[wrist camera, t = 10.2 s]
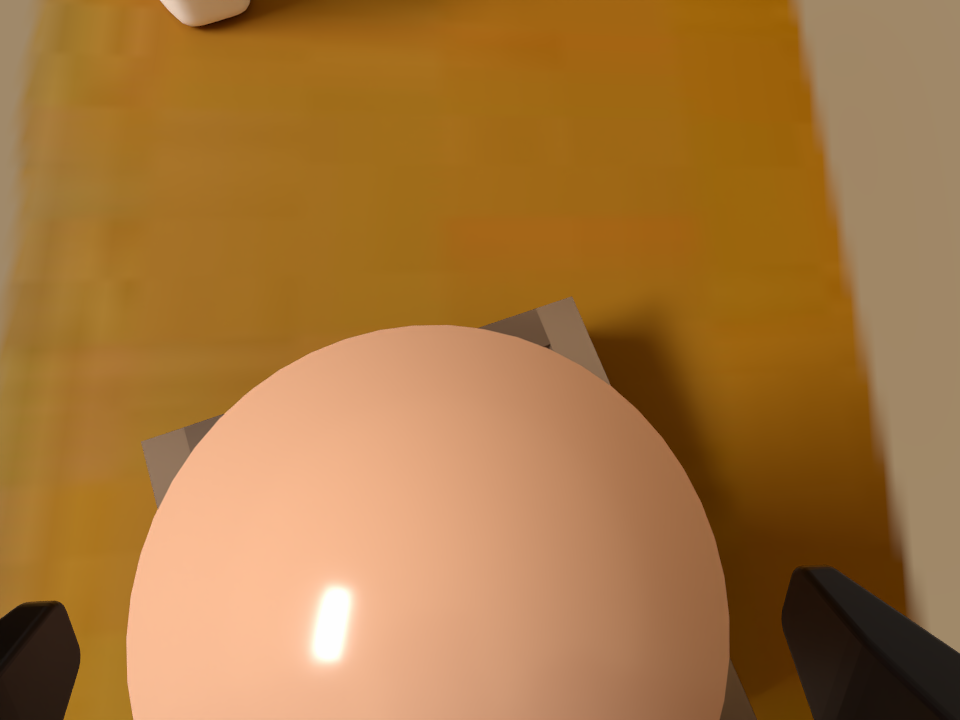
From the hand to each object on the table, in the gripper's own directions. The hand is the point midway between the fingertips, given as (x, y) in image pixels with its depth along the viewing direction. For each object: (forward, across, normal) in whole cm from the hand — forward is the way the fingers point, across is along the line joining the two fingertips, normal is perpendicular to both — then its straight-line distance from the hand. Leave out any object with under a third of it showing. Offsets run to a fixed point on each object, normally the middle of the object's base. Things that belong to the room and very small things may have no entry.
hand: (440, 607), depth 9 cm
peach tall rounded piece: (+7, 0, +6) cm, 9 cm away
